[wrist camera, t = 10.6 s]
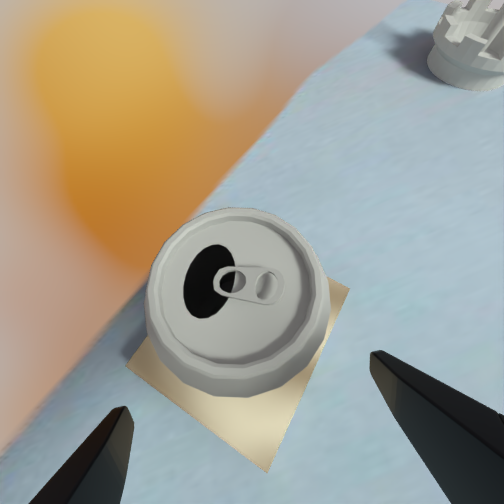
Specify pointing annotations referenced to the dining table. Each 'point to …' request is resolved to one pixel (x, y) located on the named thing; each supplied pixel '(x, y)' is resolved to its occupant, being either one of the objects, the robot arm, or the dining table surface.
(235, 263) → the can
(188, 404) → the board
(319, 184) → the dining table surface
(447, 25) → the flag stand
